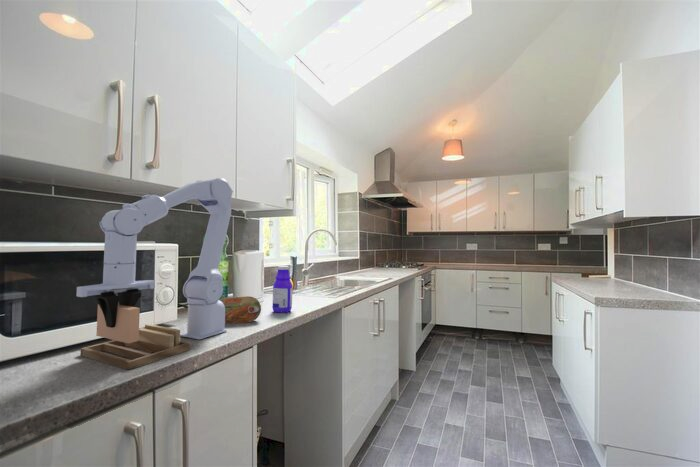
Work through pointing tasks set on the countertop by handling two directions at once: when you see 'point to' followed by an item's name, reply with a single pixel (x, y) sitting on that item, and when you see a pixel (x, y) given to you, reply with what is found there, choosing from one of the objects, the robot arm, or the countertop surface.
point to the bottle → (282, 291)
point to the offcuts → (160, 335)
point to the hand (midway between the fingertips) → (117, 325)
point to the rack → (131, 353)
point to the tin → (241, 309)
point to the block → (120, 325)
